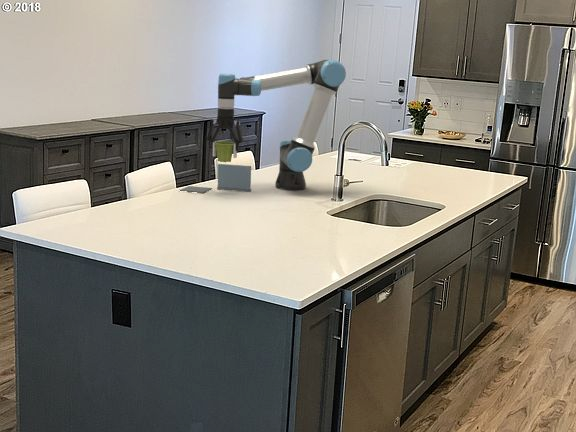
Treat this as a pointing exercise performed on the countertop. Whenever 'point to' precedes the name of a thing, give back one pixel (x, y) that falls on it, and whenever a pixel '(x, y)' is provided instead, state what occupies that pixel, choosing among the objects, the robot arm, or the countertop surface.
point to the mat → (196, 189)
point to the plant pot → (224, 151)
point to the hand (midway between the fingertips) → (224, 157)
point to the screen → (234, 177)
